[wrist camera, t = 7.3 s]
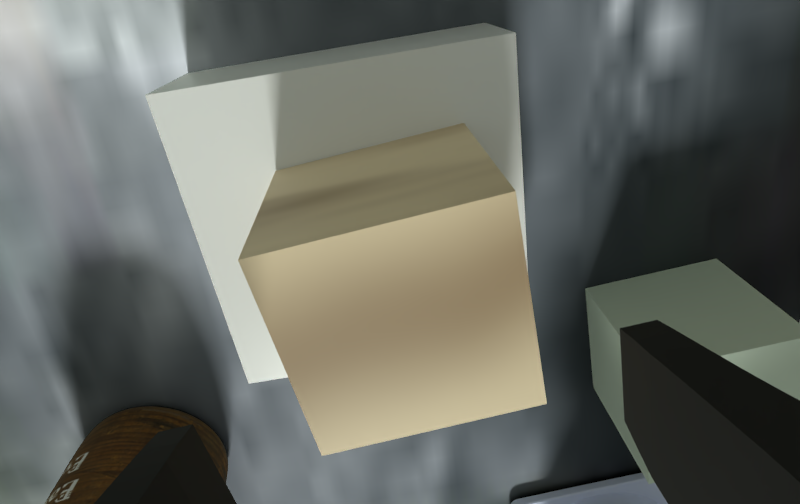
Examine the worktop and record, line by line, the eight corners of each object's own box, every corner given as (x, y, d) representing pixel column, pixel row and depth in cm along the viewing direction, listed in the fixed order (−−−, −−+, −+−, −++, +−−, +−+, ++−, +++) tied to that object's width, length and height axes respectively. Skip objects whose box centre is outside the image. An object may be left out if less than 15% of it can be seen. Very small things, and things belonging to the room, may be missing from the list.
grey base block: (501, 275, 20) (531, 337, 17) (268, 314, 21) (249, 383, 17) (482, 21, 16) (515, 32, 13) (191, 70, 17) (145, 95, 13)
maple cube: (493, 286, 16) (547, 404, 12) (331, 325, 16) (322, 456, 12) (463, 123, 14) (515, 191, 9) (275, 170, 14) (238, 260, 10)
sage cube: (710, 359, 23) (796, 453, 18) (592, 385, 23) (648, 484, 18) (715, 257, 20) (814, 335, 16) (584, 287, 21) (646, 372, 16)
